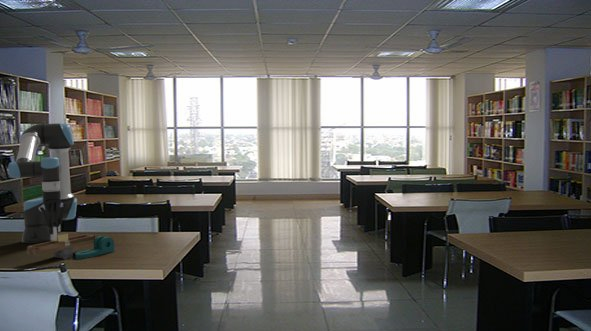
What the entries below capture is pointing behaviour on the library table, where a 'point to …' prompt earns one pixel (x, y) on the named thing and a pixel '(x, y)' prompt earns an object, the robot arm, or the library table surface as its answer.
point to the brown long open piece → (61, 246)
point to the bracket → (97, 248)
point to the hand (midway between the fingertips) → (54, 240)
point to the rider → (61, 238)
